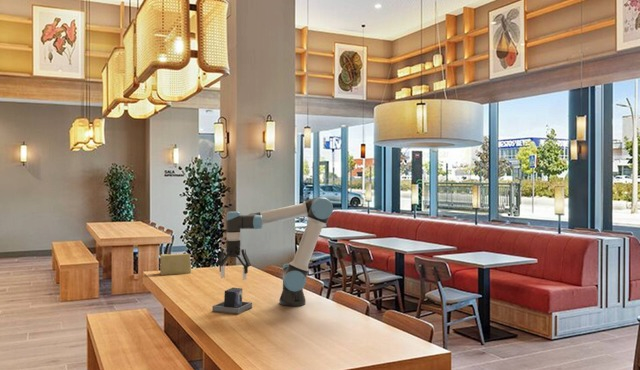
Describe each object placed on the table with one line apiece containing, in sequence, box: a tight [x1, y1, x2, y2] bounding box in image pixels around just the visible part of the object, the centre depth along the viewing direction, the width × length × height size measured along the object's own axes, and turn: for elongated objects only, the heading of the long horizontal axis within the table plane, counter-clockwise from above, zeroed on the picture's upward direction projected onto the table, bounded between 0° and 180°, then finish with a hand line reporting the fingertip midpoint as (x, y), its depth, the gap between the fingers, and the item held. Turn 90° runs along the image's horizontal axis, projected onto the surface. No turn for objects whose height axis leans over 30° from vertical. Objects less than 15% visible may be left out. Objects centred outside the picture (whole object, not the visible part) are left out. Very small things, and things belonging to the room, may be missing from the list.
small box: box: [223, 287, 243, 308], centre depth 284 cm, size 11×6×10 cm, turn 164°
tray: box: [211, 301, 253, 315], centre depth 284 cm, size 16×16×3 cm
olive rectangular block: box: [159, 253, 192, 276], centre depth 392 cm, size 22×10×15 cm, turn 109°
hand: (233, 278), depth 284 cm, fingers open, 13 cm apart
